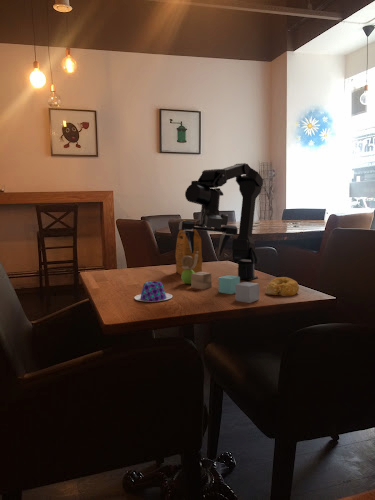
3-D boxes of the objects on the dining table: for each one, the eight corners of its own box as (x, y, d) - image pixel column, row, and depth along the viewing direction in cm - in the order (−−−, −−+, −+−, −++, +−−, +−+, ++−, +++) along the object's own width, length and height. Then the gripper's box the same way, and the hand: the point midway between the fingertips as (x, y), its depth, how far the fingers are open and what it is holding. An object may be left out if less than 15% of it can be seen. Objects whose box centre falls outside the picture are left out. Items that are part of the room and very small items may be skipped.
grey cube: (245, 297, 128) (244, 281, 128) (258, 299, 125) (258, 283, 124) (235, 300, 125) (235, 284, 124) (249, 303, 121) (249, 286, 121)
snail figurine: (197, 285, 147) (196, 252, 146) (179, 285, 149) (179, 252, 147) (200, 282, 153) (199, 250, 151) (183, 282, 154) (182, 250, 153)
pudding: (153, 293, 139) (152, 277, 138) (180, 297, 131) (180, 281, 131) (126, 300, 130) (125, 283, 129) (154, 305, 122) (153, 288, 121)
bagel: (258, 292, 136) (258, 278, 135) (286, 288, 140) (286, 274, 139) (276, 298, 126) (276, 283, 126) (305, 294, 131) (305, 280, 130)
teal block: (227, 289, 140) (227, 275, 140) (240, 291, 137) (239, 276, 136) (218, 292, 136) (218, 277, 136) (231, 294, 133) (230, 279, 133)
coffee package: (195, 270, 180) (194, 219, 177) (204, 274, 168) (203, 220, 165) (173, 271, 177) (171, 220, 174) (181, 276, 165) (179, 221, 162)
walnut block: (200, 285, 148) (200, 271, 147) (211, 287, 145) (211, 273, 144) (191, 287, 144) (191, 273, 144) (202, 289, 141) (202, 275, 140)
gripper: (187, 201, 127) (182, 251, 127) (245, 207, 131) (240, 257, 130) (180, 205, 138) (176, 251, 138) (234, 211, 142) (230, 256, 141)
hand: (205, 254), depth 136 cm, fingers open, 9 cm apart
